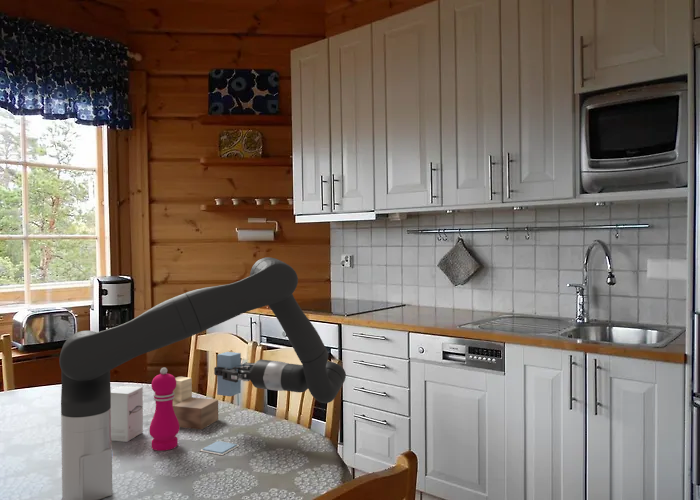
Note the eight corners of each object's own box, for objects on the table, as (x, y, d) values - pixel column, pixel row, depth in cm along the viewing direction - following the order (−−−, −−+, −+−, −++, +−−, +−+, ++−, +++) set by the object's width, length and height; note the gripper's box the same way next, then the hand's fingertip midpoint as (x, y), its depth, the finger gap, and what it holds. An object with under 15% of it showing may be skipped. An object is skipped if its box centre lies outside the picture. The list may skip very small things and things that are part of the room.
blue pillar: (240, 392, 156) (240, 353, 156) (230, 396, 152) (230, 355, 152) (227, 390, 158) (227, 351, 158) (217, 394, 154) (217, 354, 154)
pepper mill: (143, 448, 141) (142, 369, 141) (165, 439, 147) (164, 363, 147) (164, 453, 137) (163, 372, 137) (185, 444, 144) (184, 366, 144)
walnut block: (218, 420, 164) (218, 399, 164) (201, 430, 155) (201, 408, 155) (191, 417, 166) (191, 397, 166) (173, 427, 158) (173, 405, 158)
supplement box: (128, 442, 145) (127, 393, 145) (102, 440, 147) (101, 392, 147) (144, 432, 153) (143, 386, 152) (119, 431, 154) (119, 385, 154)
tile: (239, 446, 142) (239, 444, 142) (222, 455, 136) (222, 453, 136) (217, 442, 145) (217, 440, 145) (200, 451, 139) (200, 448, 139)
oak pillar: (192, 414, 169) (191, 377, 168) (181, 418, 165) (181, 381, 164) (180, 412, 171) (180, 376, 170) (169, 416, 167) (169, 379, 166)
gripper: (287, 356, 156) (236, 351, 163) (257, 366, 143) (203, 360, 150) (287, 383, 156) (236, 377, 163) (257, 395, 143) (203, 388, 150)
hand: (221, 368), depth 156 cm, fingers closed on blue pillar, 4 cm apart
